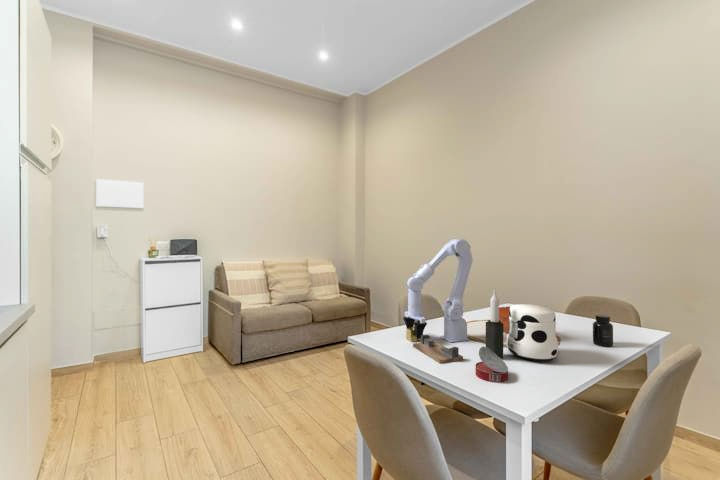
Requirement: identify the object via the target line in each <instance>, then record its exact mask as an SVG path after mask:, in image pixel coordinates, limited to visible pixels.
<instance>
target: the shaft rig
mask: <svg viewBox="0 0 720 480" xmlns="http://www.w3.org/2000/svg"><path fill="white" fill-rule="evenodd" d="M412 346H413V347H412V348H415V349H416V350H418V351H419V352H421V353H422V354H424V355H425V356H427V357H428V358H430V359H432V360H433V361H435V362H436V363H438V364H446V363H451V362H459V361H463V360H464V356H463V355H461V354H459V351H460V350H459V347H457V346H451V347H446V346H444V345H442V344H441V343H439V342H437V341H435V340H434V339H431V337H430V334H427V333H426V334H423V335H421V341H420V342H416V343H415V342H414V343H413V344H412Z"/></svg>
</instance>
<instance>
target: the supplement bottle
mask: <svg viewBox="0 0 720 480" xmlns="http://www.w3.org/2000/svg"><path fill="white" fill-rule="evenodd" d="M592 342H593V344H594V345H595V346H597V347H603V348H611V347H614V325H613V324H612V323H611V317H610V316H608V315H604V314H596V315H595V321H593V323H592Z"/></svg>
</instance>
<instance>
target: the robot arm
mask: <svg viewBox="0 0 720 480" xmlns="http://www.w3.org/2000/svg"><path fill="white" fill-rule="evenodd" d="M449 256H455V257H456V258H457V259H458V265H457V269H456V272H455V276H454V280H453V283H452V287H451V291H450V294H449V296H448V297H447V298H446V301H445V303H443V305H442V312H443V314H444V317H443V335H439V337H440V339H443V340H445V341H446V342H448V343H456V342H464V341H469V338H468V323H467V320H466V319H465V318H463V316H464V310H463V308H464V302H463V299H464V298H463V297H464V294H465V291H466V287H467V286H466V285H467V283H468V279H469V275H470V271H471V269H472V264H473V261H474V259H473V256H472V250H471V245H470V244H469V242H468V240H466V239H464V238H452V239H449V241H448V242H446V243H445V244H444V245H443V247H442V248H441V249H440V250H439V252H437V254H436V255H435V256H434V257H433V258H432V259H431V261H429V263H424V264H421V265H420V266H419V269H418V270H417V271H416V272H415V273H413V274H412V276H411V277H409V278H408V280H407V282H406V286H407V288H408V289H407V290H408V293H407V310H405V311H404V317H402V319H403V321H404V324H405V327H406V328H412V327H415V330H416V338H417V339H421V335H422V334H423V335H424V331H425V328H426V326H427V325H428V323H427V322H426V318H425V317H424V316H423V315H422V289H423V288H424V284H425V283H426V282H427V281H429V279H431V277H432V276H433V275H435V269H436V268H437V267H439V265H440V264H441V263H443V262H444V260H445V259H447V257H449Z"/></svg>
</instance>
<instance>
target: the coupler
mask: <svg viewBox="0 0 720 480" xmlns="http://www.w3.org/2000/svg"><path fill="white" fill-rule="evenodd" d="M422 335H424V333H423V334H422ZM405 337H406V339H405V340H407V341H408V342H410V343H415V342H421V339H417V338H416V330H415V326H414V327H412V328H407V327H406V333H405Z"/></svg>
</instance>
